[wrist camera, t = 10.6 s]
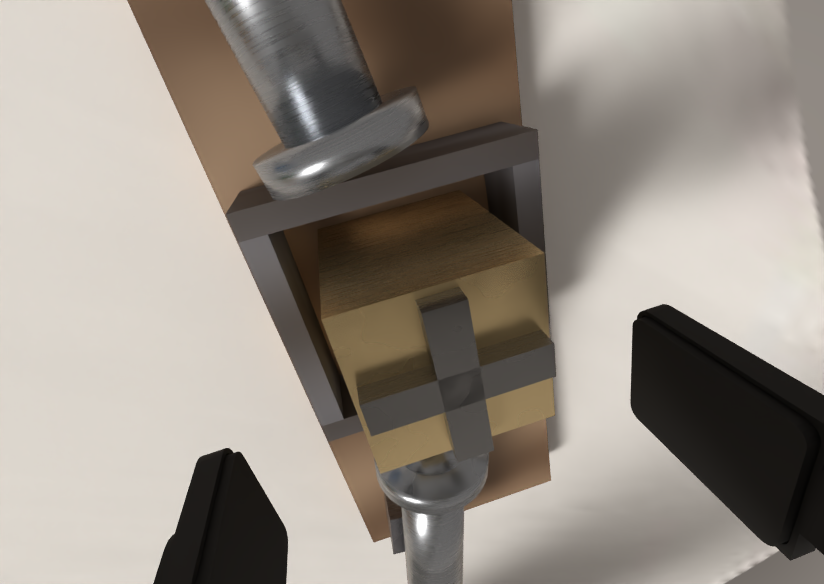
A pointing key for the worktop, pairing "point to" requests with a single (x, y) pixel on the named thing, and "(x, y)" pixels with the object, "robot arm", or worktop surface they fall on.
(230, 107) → the stand
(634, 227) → the worktop surface
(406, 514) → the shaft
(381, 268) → the coupling block
